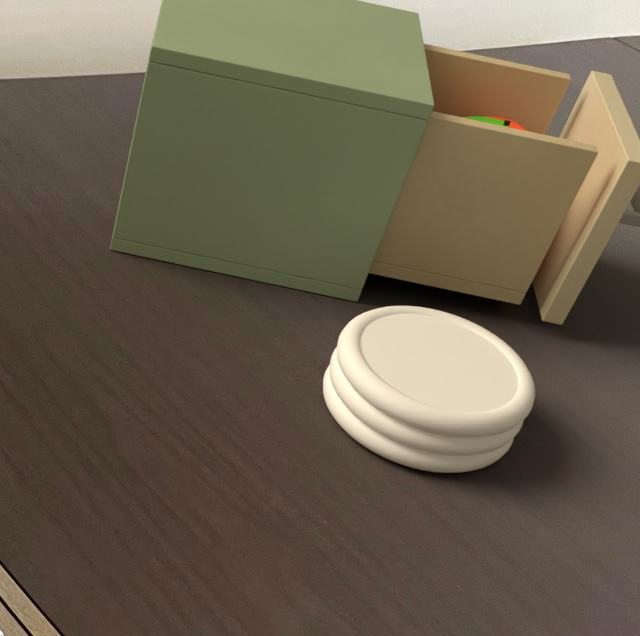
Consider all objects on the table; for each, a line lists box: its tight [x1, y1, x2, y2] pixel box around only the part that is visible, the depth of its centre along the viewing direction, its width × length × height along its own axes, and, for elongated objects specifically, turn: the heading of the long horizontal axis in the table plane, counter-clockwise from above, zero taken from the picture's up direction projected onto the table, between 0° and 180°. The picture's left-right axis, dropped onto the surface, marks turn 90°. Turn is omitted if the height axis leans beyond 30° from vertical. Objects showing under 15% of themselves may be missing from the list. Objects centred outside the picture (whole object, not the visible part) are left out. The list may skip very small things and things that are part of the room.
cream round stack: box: [322, 305, 536, 474], centre depth 59 cm, size 10×10×4 cm
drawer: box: [368, 43, 640, 326], centre depth 67 cm, size 17×11×10 cm, turn 81°
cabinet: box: [109, 0, 434, 303], centre depth 67 cm, size 15×13×12 cm
